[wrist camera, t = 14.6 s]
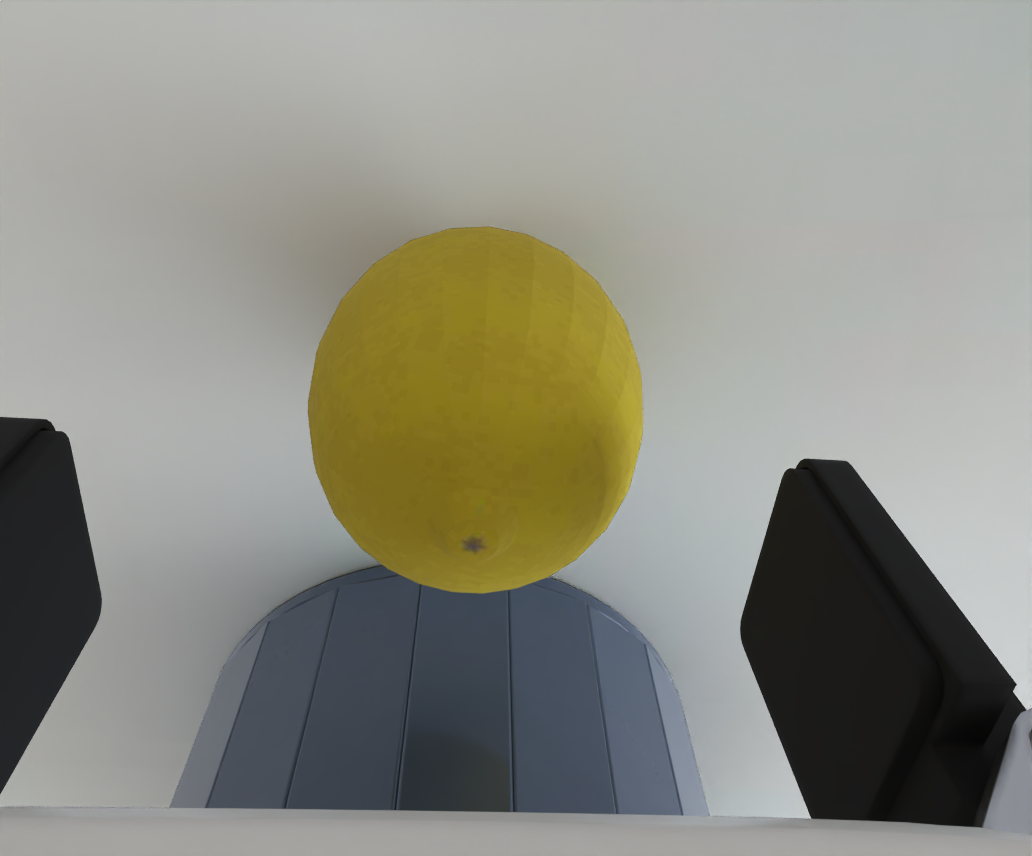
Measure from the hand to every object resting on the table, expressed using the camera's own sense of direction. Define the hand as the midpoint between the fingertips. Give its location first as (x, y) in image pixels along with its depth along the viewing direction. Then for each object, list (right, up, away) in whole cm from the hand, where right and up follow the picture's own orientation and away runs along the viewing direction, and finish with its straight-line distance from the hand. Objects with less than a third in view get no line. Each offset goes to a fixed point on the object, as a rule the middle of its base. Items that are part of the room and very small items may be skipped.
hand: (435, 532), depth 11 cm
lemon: (0, +4, +7) cm, 8 cm away
